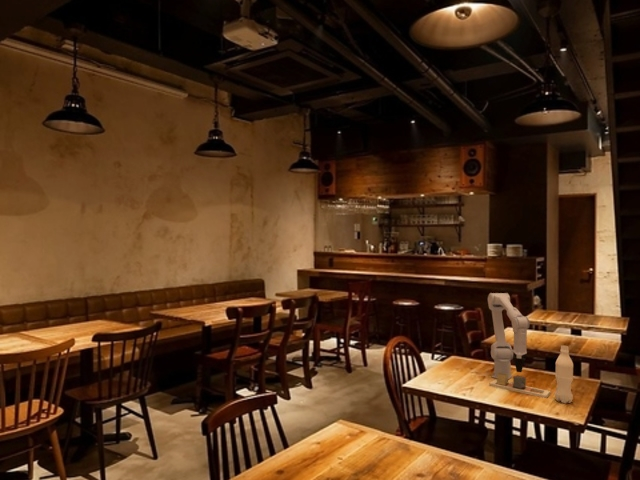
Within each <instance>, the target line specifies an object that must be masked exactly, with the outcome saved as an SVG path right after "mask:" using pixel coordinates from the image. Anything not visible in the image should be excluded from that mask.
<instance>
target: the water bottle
mask: <svg viewBox="0 0 640 480" xmlns="http://www.w3.org/2000/svg"><path fill="white" fill-rule="evenodd" d="M559 351H560V353H559V355H558V357H557V359H556V361H555V374H554V376H555V379H556V390H555V392H554V397H555V399H556V401H557V402H560V403H562V404H567V403H568V404H571V402H572V400H573V399H574V396H573V392H572V389H571V388H572V387H571V386H572V382H573V381H574V362H573V360H572V358H571V357H570V351H569V346H568V345H560V350H559Z"/></svg>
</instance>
